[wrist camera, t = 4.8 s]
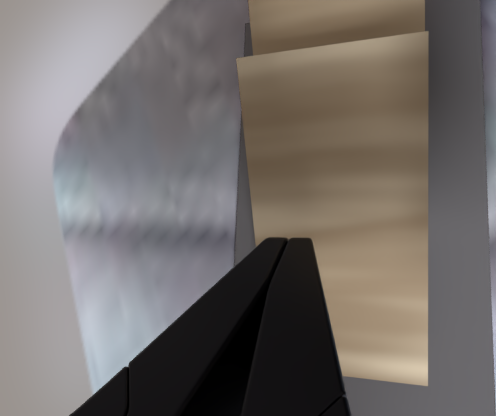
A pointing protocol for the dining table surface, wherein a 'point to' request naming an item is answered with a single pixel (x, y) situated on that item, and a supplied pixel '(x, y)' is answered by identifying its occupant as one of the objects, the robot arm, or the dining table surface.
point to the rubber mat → (437, 231)
